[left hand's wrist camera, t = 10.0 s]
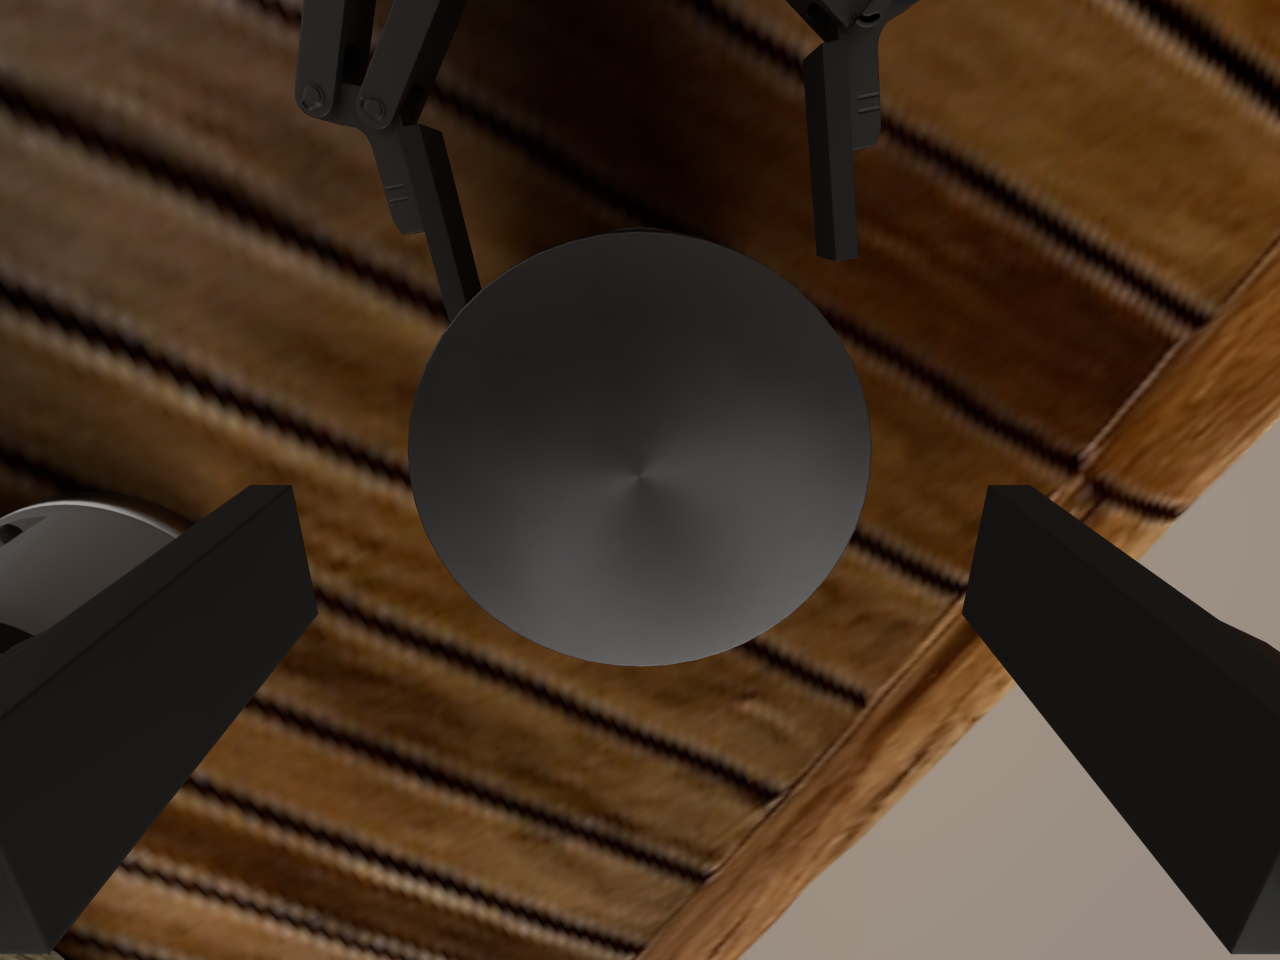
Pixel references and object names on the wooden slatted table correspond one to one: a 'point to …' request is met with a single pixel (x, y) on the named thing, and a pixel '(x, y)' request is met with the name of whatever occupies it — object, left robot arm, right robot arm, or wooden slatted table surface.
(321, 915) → the wooden slatted table surface
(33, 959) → the fossil
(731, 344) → the lid
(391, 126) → the right robot arm
